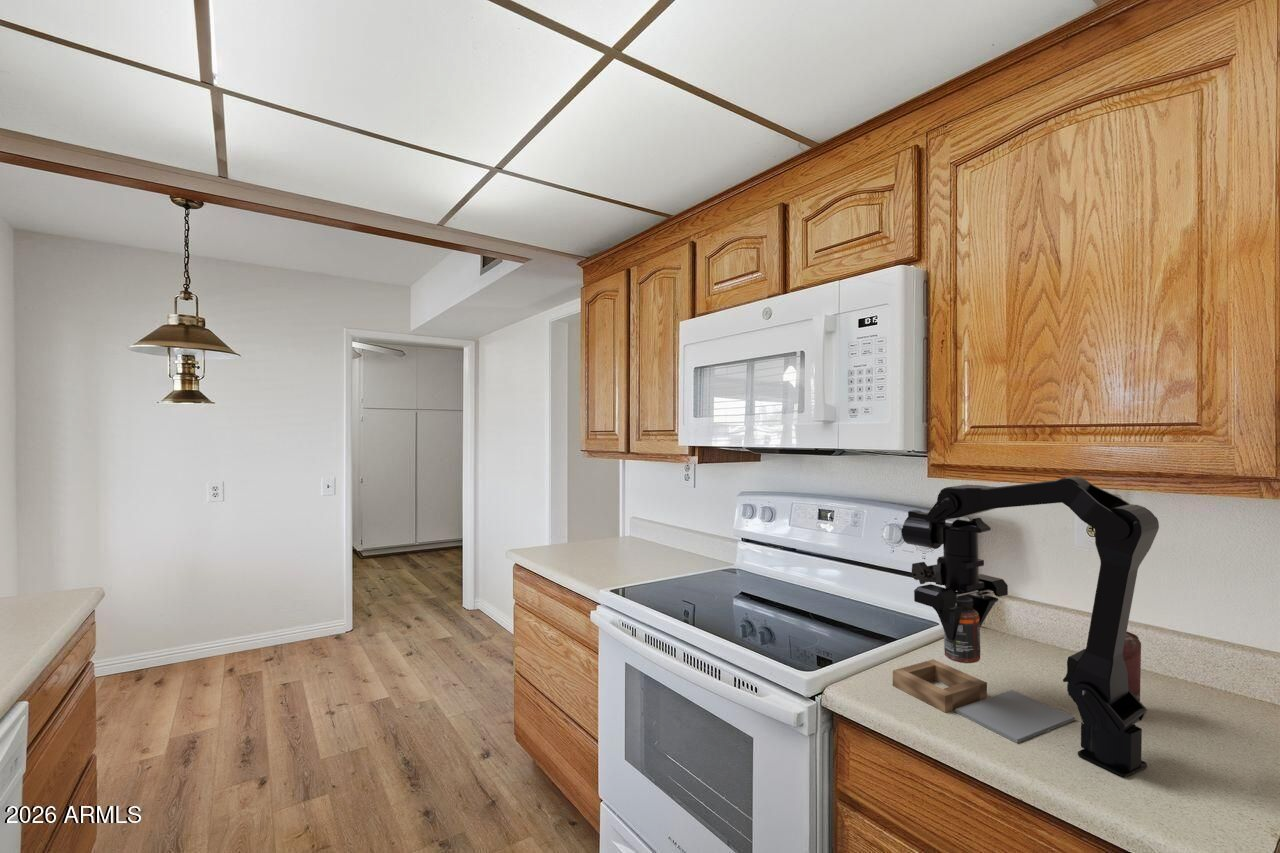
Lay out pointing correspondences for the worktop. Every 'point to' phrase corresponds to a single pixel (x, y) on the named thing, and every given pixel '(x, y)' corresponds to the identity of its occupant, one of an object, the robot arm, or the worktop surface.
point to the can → (1133, 662)
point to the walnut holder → (947, 699)
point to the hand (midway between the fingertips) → (962, 636)
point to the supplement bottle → (965, 635)
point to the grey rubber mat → (1015, 715)
